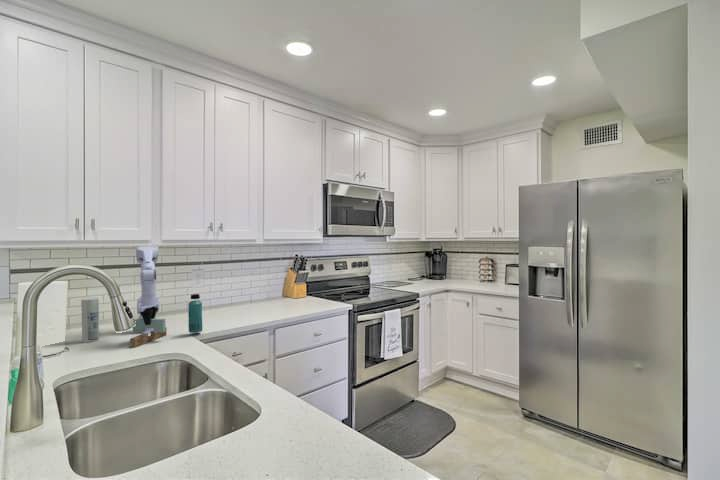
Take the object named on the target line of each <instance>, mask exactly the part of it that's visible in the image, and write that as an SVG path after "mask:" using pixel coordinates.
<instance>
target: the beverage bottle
mask: <svg viewBox="0 0 720 480" xmlns="http://www.w3.org/2000/svg"><path fill="white" fill-rule="evenodd" d="M200 297H201V296H200V294H199V293H194V294H191V295H190V300H191V301H190V302H188V303H187V304H188V308H187V309H188V315H187V316H188V332H189V333H190V334H196V333H200V332H202V331H203V302H202V301H200V300H198V299H201V298H200Z"/></svg>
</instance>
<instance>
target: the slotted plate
mask: <svg viewBox="0 0 720 480" xmlns="http://www.w3.org/2000/svg"><path fill="white" fill-rule="evenodd" d="M134 319H135V321H136V326H135V327H133V326H132V333H133V334H137V333H139V334H143V332H145V328H153V333H154V332H165V331H166V332H167V327H166V318H156V319H151V324H150V325H145V323H144V320H143V319H138V318H134Z"/></svg>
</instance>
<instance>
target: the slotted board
mask: <svg viewBox="0 0 720 480" xmlns="http://www.w3.org/2000/svg"><path fill="white" fill-rule="evenodd" d="M163 336H164V337H166V336H167V330H166V331H165V332H154V333H153V331H151V332H150V335H149V333H144V334H143V333H140V334H139V335H136V336H134V337H131V338H130V339H129V340H130V344H129V346H130V348H132V349H133V348H138V347H141V346H143V345H145V344H148V343H150V342H153V341H156V340H159V339H161V338H163ZM160 337H161V338H160Z"/></svg>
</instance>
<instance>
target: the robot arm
mask: <svg viewBox="0 0 720 480" xmlns="http://www.w3.org/2000/svg"><path fill="white" fill-rule="evenodd" d="M135 250H136V251H135V252H136V253H135V257H136V258H135V259H136V262H137V263H138V264H140V269H141V271H140V272H139V273H140V279H139V280H140V284H141V285H140V286H141V287H140V288H141V296H140V297H138V298H137V302H136V314H137V315H138V318H137V319H143V320H144V323H145V325H150V324H151V319H157V313H158V312H159V311H160V301H159V297H158V296H157V294H156V293H157V292H156V290H157V289H156V284H157V283H156V281H157V270H156V268H155V267H156V266H155V263H157V262H158V258H159V247H158V246H157V245H155V246H153V245H152V246H151V245H149V246H146V245H145V246H139V245H138V246H136V247H135ZM151 331H153V328H145V332H143V333H142V334H149V333H151Z"/></svg>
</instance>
